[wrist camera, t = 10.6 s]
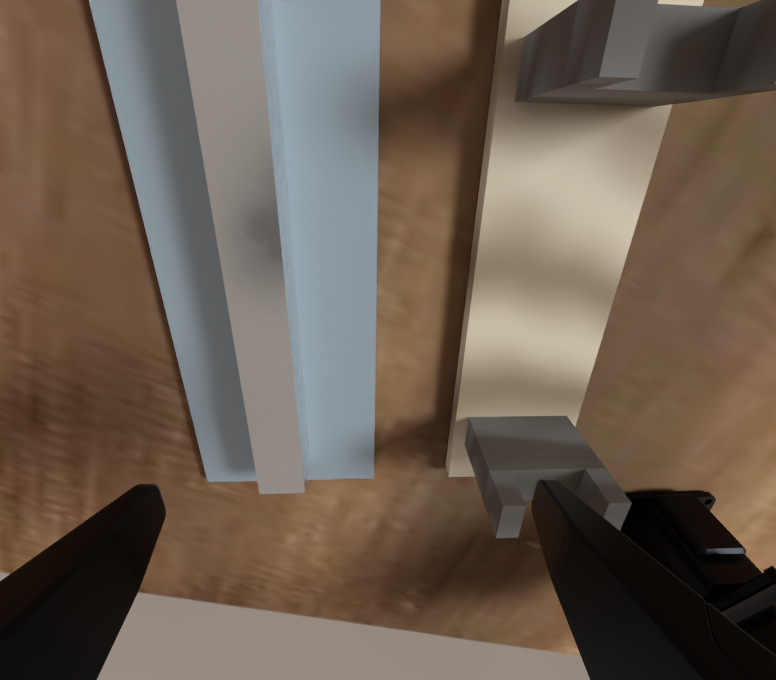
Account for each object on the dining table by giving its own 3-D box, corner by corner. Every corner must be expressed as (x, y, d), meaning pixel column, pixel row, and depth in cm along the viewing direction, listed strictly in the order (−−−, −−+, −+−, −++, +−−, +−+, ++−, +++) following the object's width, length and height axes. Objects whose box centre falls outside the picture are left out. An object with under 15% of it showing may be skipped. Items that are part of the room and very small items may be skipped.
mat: (373, 472, 24) (374, 478, 24) (210, 475, 24) (207, 482, 23) (380, -72, 13) (381, -79, 13) (74, -91, 13) (64, -100, 12)
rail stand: (553, 462, 25) (617, 569, 19) (445, 464, 24) (473, 574, 18) (695, -34, 14) (955, -175, 8) (507, -45, 14) (626, -204, 8)
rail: (310, 460, 23) (304, 492, 21) (269, 461, 23) (259, 494, 21) (269, -28, 13) (251, -61, 11) (197, -32, 13) (164, -66, 11)
